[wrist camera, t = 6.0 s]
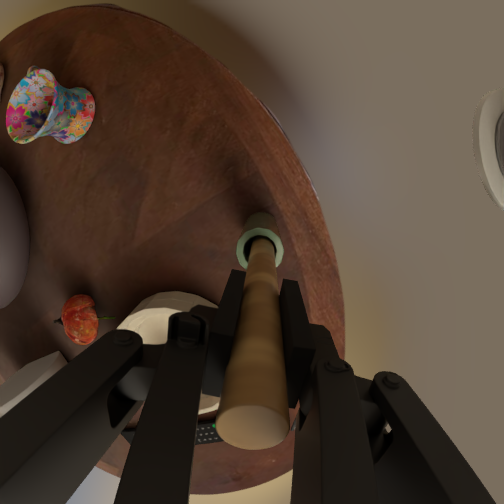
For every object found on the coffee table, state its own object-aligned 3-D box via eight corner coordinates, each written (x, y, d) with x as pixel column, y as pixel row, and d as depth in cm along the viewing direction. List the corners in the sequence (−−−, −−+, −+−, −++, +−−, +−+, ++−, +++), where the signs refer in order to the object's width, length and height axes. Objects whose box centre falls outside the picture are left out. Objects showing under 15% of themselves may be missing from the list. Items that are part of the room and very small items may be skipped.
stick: (273, 223, 36) (299, 409, 7) (270, 239, 36) (280, 454, 7) (256, 220, 36) (219, 397, 7) (253, 236, 36) (211, 444, 7)
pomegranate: (114, 285, 42) (52, 282, 36) (122, 317, 37) (52, 314, 31) (108, 321, 45) (52, 319, 39) (117, 353, 40) (54, 353, 34)
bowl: (252, 303, 40) (250, 324, 34) (233, 399, 44) (229, 424, 38) (129, 278, 40) (110, 293, 34) (130, 374, 44) (116, 396, 38)
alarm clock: (39, 393, 48) (-6, 447, 29) (20, 366, 46) (-31, 416, 27) (94, 378, 45) (41, 452, 26) (71, 345, 43) (6, 412, 24)
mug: (108, 125, 34) (63, 114, 24) (61, 158, 36) (12, 158, 25) (88, 61, 32) (46, 39, 22) (44, 95, 33) (-1, 84, 23)
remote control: (122, 427, 48) (119, 432, 47) (230, 414, 45) (230, 419, 44) (135, 444, 49) (133, 448, 48) (242, 432, 46) (241, 438, 45)
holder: (280, 215, 37) (287, 233, 25) (273, 246, 38) (278, 277, 26) (248, 209, 37) (240, 224, 25) (242, 240, 38) (232, 269, 26)
